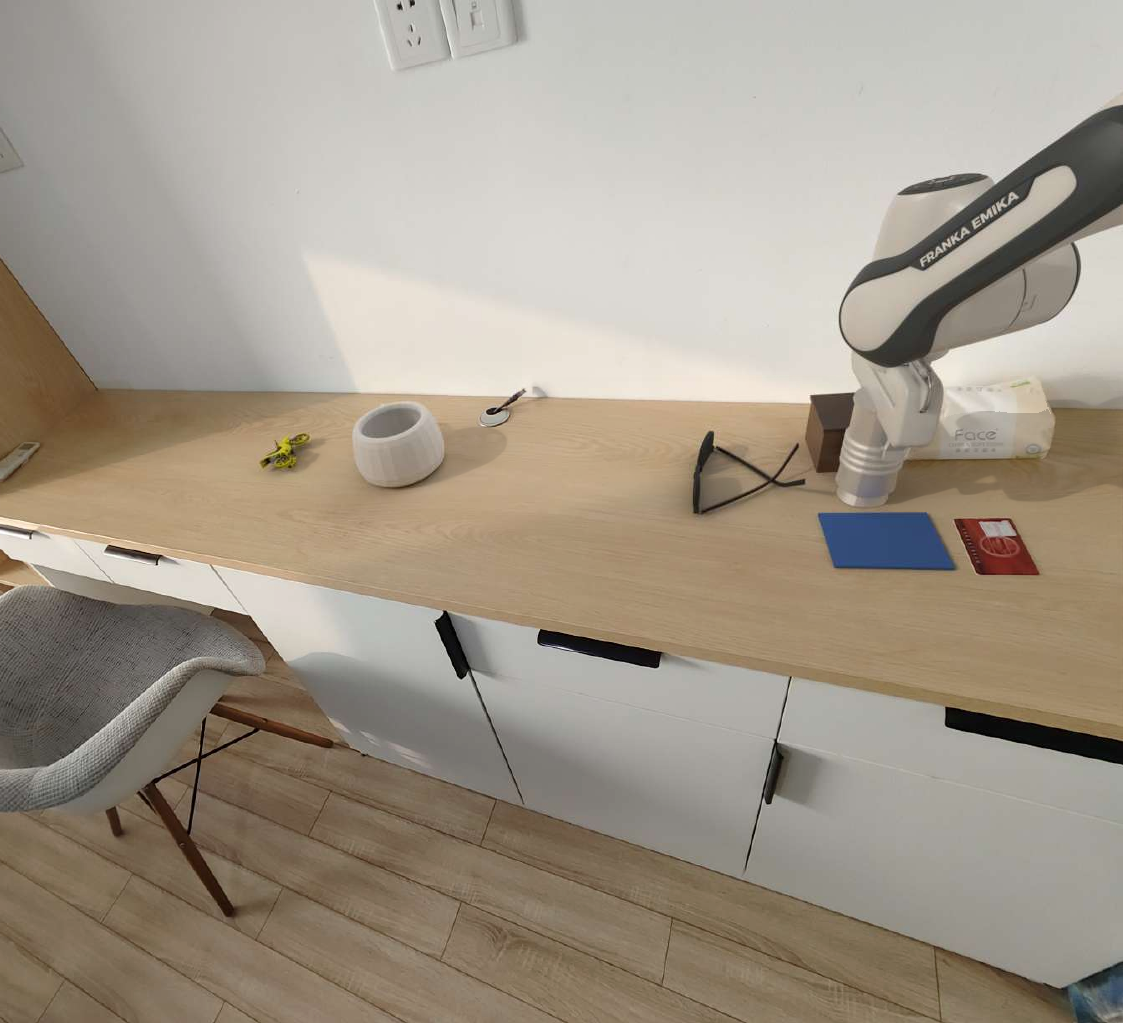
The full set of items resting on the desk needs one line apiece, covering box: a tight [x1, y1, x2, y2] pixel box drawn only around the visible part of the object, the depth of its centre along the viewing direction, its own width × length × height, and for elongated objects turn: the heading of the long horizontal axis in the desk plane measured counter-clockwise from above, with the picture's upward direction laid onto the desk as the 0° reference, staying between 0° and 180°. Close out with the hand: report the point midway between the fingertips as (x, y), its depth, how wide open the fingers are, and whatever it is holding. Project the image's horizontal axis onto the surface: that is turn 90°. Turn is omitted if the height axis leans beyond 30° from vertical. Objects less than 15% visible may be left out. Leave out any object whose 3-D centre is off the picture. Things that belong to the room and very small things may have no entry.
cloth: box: [817, 511, 956, 571], centre depth 76 cm, size 12×10×1 cm
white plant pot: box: [351, 400, 446, 488], centre depth 112 cm, size 21×17×10 cm
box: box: [804, 391, 856, 473], centre depth 87 cm, size 9×9×8 cm
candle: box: [835, 386, 909, 509], centre depth 78 cm, size 7×7×15 cm
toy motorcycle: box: [259, 432, 311, 470], centre depth 124 cm, size 12×4×7 cm
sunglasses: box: [692, 430, 806, 515], centre depth 88 cm, size 17×14×5 cm
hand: (878, 437), depth 77 cm, fingers open, 8 cm apart
